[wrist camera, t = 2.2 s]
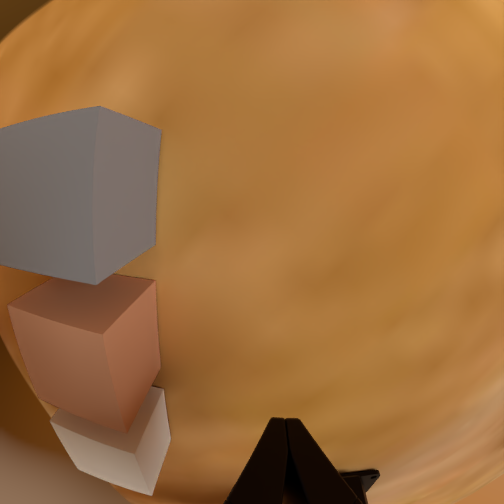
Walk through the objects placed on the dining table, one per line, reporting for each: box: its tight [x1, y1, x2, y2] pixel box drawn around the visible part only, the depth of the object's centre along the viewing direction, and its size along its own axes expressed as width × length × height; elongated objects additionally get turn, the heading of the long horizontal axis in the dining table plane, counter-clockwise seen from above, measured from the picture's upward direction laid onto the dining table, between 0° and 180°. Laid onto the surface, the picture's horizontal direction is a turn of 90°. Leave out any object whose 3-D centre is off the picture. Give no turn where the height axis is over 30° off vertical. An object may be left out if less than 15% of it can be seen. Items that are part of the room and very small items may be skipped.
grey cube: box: [0, 106, 162, 285], centre depth 8 cm, size 4×4×4 cm
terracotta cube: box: [7, 274, 161, 433], centre depth 10 cm, size 4×4×4 cm
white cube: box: [50, 386, 171, 496], centre depth 11 cm, size 4×4×4 cm
